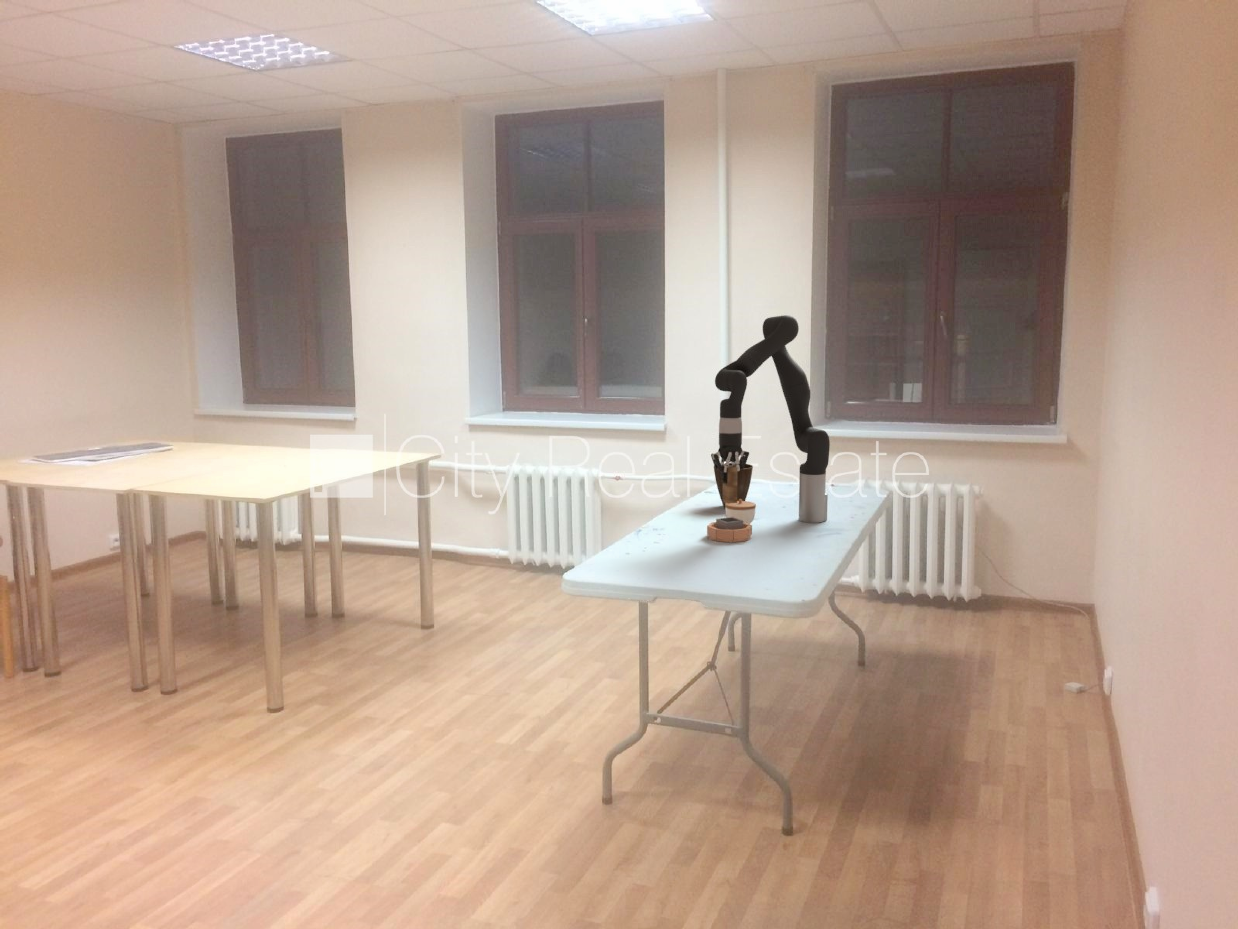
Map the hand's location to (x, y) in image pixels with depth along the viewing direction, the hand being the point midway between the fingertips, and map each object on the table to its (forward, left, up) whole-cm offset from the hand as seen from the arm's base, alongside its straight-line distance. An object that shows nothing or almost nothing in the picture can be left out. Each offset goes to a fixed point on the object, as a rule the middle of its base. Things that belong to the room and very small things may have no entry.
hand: (729, 482), depth 321 cm
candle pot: (0, 0, -19) cm, 19 cm away
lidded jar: (-13, -14, -19) cm, 27 cm away
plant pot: (-28, -43, -19) cm, 55 cm away
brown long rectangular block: (0, 0, -7) cm, 7 cm away
